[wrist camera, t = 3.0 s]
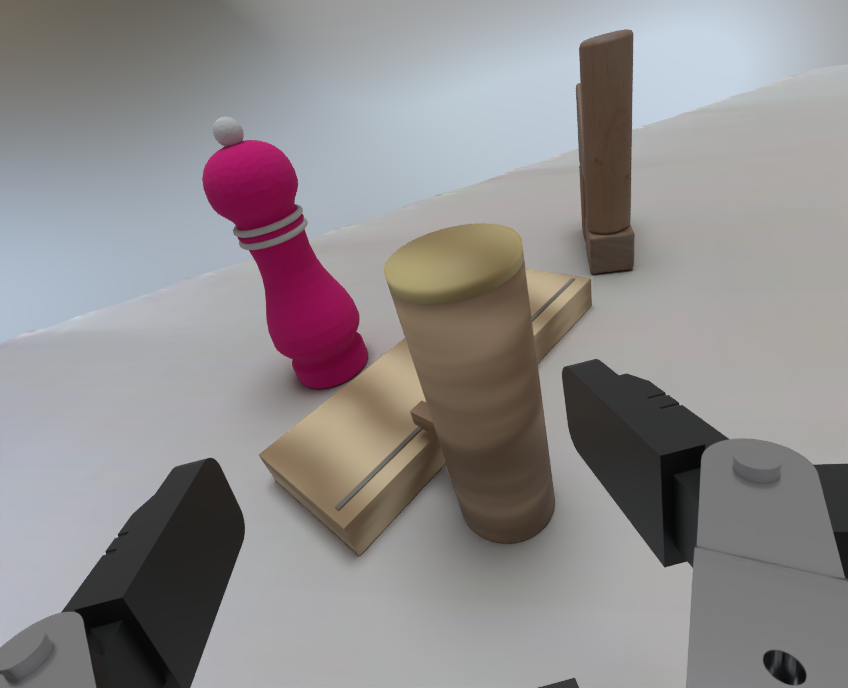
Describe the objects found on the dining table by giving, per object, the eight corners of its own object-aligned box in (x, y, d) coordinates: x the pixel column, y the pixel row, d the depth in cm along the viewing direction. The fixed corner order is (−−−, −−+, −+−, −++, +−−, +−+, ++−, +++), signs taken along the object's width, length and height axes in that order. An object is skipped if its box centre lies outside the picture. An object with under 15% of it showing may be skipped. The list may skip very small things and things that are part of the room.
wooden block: (617, 223, 48) (617, 22, 38) (634, 271, 39) (639, 29, 30) (581, 229, 49) (572, 35, 39) (590, 276, 41) (580, 44, 31)
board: (359, 556, 23) (343, 527, 22) (275, 479, 29) (257, 453, 28) (591, 305, 37) (590, 277, 35) (501, 287, 43) (497, 263, 41)
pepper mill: (331, 336, 43) (233, 111, 32) (390, 347, 39) (300, 93, 28) (277, 384, 39) (141, 141, 28) (337, 402, 35) (205, 125, 24)
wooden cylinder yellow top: (520, 562, 21) (461, 299, 13) (406, 487, 26) (313, 265, 18) (572, 487, 24) (549, 228, 16) (459, 432, 29) (397, 216, 21)
